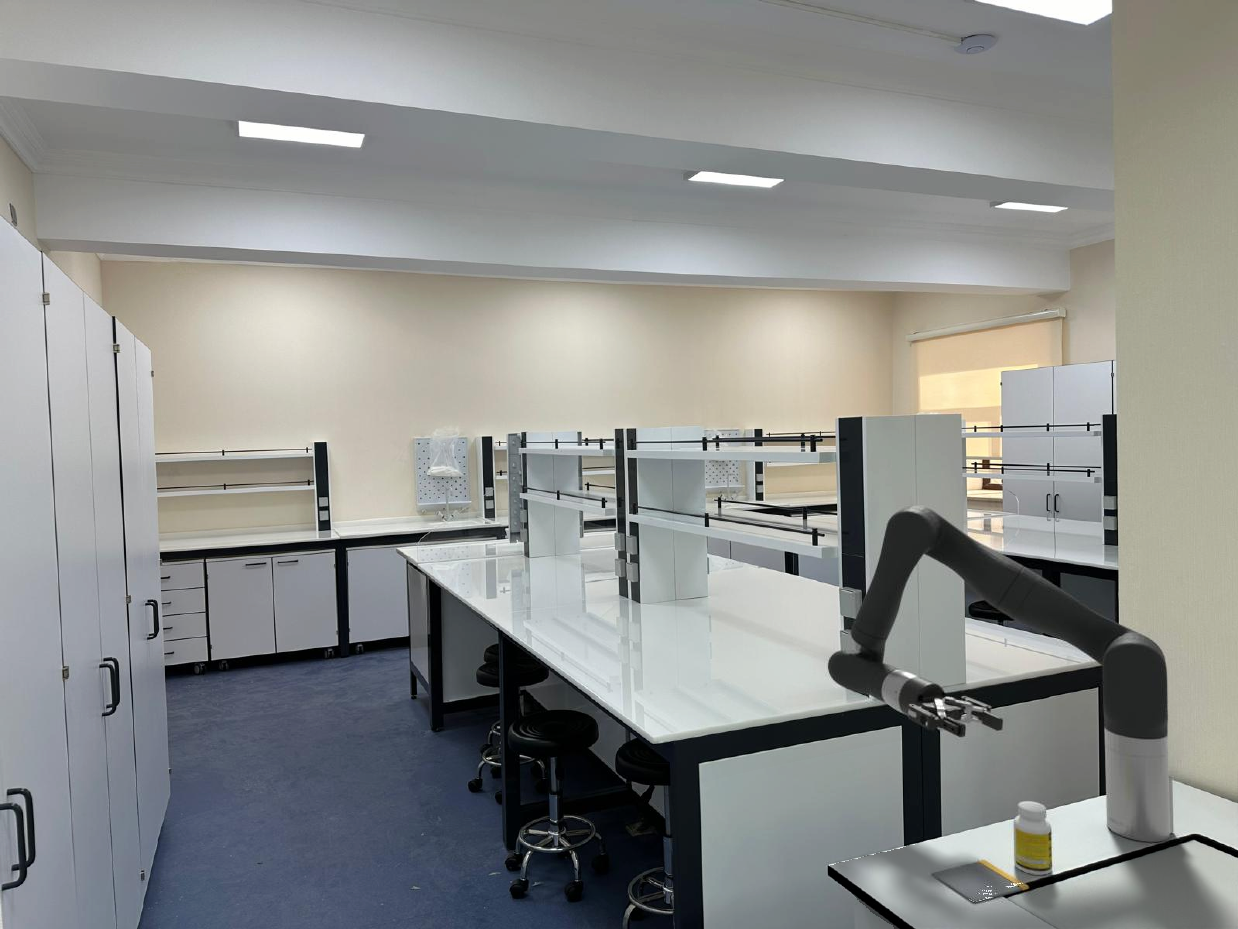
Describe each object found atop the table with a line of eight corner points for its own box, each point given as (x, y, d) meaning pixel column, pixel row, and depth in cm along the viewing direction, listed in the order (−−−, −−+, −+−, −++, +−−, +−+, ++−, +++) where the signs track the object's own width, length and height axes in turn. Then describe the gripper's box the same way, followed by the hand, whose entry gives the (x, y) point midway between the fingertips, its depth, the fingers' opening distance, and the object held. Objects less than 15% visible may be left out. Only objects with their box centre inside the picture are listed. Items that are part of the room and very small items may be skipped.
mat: (983, 861, 134) (983, 859, 134) (1028, 888, 126) (1028, 886, 126) (931, 875, 131) (931, 872, 131) (974, 903, 122) (974, 900, 122)
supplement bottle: (1057, 877, 129) (1055, 814, 129) (1019, 875, 130) (1017, 812, 130) (1046, 860, 134) (1045, 800, 134) (1010, 858, 135) (1008, 798, 135)
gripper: (884, 680, 152) (953, 712, 138) (943, 672, 158) (1015, 701, 143) (881, 720, 153) (949, 756, 138) (940, 710, 159) (1011, 744, 144)
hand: (982, 728), depth 141 cm, fingers open, 8 cm apart
